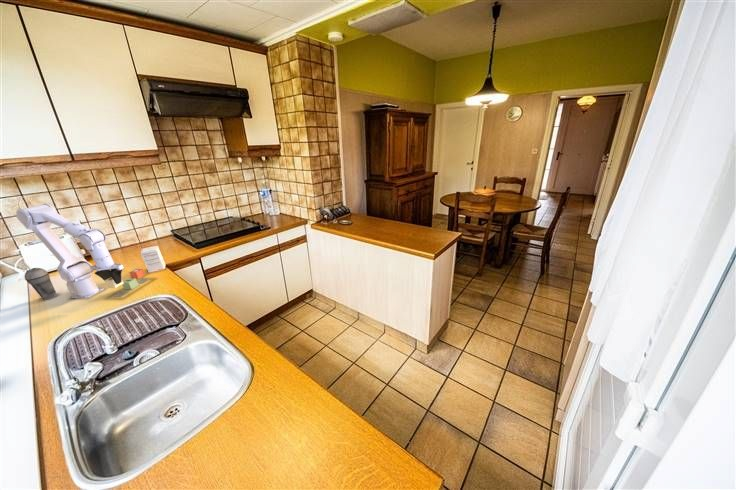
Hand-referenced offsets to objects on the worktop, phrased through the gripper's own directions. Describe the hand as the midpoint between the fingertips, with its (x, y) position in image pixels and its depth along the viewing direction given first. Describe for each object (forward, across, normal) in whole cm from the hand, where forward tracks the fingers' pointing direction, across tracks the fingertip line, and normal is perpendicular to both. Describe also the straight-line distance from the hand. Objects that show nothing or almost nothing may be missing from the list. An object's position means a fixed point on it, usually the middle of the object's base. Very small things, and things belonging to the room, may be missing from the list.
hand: (114, 283), depth 123 cm
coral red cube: (+7, -7, +17) cm, 20 cm away
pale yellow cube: (+1, 0, 0) cm, 1 cm away
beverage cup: (+7, -36, -2) cm, 37 cm away
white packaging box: (+7, -4, +26) cm, 27 cm away
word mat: (+7, 0, +6) cm, 9 cm away
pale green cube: (+6, 0, +6) cm, 9 cm away
